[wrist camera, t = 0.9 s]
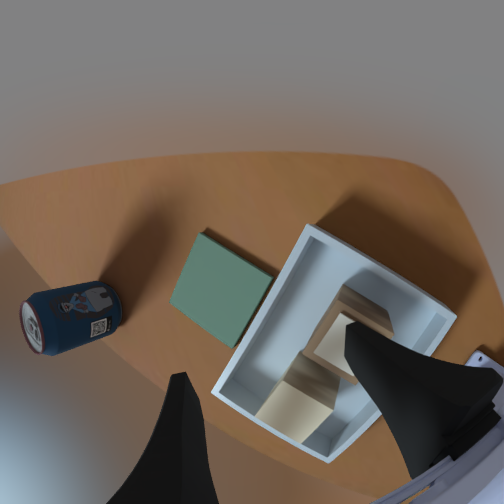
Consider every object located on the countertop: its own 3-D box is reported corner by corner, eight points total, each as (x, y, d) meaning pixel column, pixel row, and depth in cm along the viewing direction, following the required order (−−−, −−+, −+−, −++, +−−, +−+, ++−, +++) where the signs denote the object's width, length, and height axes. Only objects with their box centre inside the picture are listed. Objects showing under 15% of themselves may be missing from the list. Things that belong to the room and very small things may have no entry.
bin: (445, 304, 20) (457, 316, 16) (334, 441, 24) (328, 463, 21) (314, 224, 23) (306, 223, 20) (227, 376, 28) (210, 392, 24)
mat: (274, 277, 25) (271, 278, 24) (234, 346, 27) (231, 348, 26) (202, 232, 27) (198, 232, 27) (172, 301, 29) (169, 302, 29)
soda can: (90, 316, 35) (19, 337, 24) (95, 270, 34) (16, 283, 22) (122, 342, 33) (47, 373, 22) (129, 294, 31) (43, 316, 20)
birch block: (341, 375, 23) (333, 410, 18) (314, 408, 24) (300, 444, 19) (299, 350, 24) (282, 380, 19) (275, 384, 25) (254, 416, 20)
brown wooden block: (387, 310, 21) (394, 335, 16) (358, 353, 22) (355, 386, 17) (342, 283, 22) (337, 300, 17) (315, 327, 23) (301, 354, 18)
